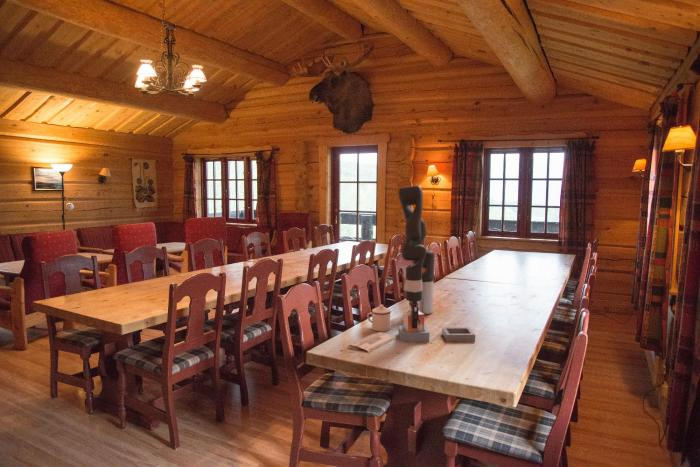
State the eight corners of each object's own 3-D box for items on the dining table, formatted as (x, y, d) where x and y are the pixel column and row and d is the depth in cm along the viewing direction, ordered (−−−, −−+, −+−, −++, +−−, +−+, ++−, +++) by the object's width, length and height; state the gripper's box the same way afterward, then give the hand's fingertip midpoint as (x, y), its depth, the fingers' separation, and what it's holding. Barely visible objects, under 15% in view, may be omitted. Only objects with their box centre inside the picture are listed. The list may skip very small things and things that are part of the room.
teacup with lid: (394, 327, 226) (394, 304, 225) (385, 332, 219) (385, 308, 217) (372, 324, 233) (371, 301, 231) (363, 329, 225) (362, 305, 224)
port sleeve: (398, 334, 217) (398, 325, 216) (425, 333, 217) (425, 325, 216) (400, 341, 206) (400, 332, 206) (429, 341, 206) (429, 332, 206)
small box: (407, 338, 208) (407, 315, 207) (403, 335, 213) (403, 312, 212) (424, 337, 210) (424, 314, 209) (419, 333, 215) (419, 310, 214)
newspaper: (373, 334, 218) (374, 329, 218) (396, 342, 211) (396, 337, 211) (343, 348, 200) (344, 342, 200) (367, 357, 193) (367, 351, 193)
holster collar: (442, 333, 217) (442, 327, 216) (469, 333, 216) (469, 327, 216) (446, 341, 206) (446, 334, 206) (475, 341, 206) (475, 334, 206)
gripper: (403, 285, 216) (403, 321, 218) (407, 293, 202) (406, 330, 204) (420, 285, 216) (419, 320, 218) (424, 292, 202) (424, 330, 204)
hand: (413, 325), depth 211 cm, fingers closed on small box, 6 cm apart
